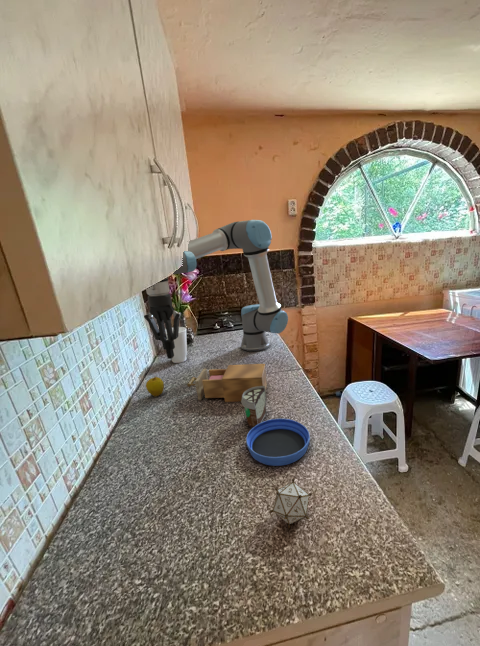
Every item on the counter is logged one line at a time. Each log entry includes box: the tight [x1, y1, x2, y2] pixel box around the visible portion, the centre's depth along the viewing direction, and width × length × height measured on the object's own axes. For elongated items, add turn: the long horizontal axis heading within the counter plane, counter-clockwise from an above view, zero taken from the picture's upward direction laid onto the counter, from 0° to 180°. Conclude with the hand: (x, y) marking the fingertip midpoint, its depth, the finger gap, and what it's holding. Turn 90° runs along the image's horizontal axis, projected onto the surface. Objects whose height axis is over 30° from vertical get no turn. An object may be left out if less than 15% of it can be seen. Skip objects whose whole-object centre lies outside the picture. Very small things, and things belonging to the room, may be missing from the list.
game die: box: [268, 477, 314, 530], centre depth 65 cm, size 9×8×10 cm
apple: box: [145, 376, 165, 398], centre depth 121 cm, size 6×6×8 cm
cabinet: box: [222, 363, 268, 403], centre depth 119 cm, size 15×13×10 cm
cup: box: [165, 326, 188, 364], centre depth 155 cm, size 12×12×16 cm
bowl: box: [245, 418, 311, 467], centre depth 89 cm, size 18×18×4 cm
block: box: [208, 375, 223, 380], centre depth 119 cm, size 5×5×5 cm
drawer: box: [186, 368, 227, 401], centre depth 119 cm, size 18×11×8 cm, turn 89°
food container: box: [240, 386, 267, 429], centre depth 101 cm, size 12×6×10 cm, turn 168°
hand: (170, 357), depth 116 cm, fingers closed
